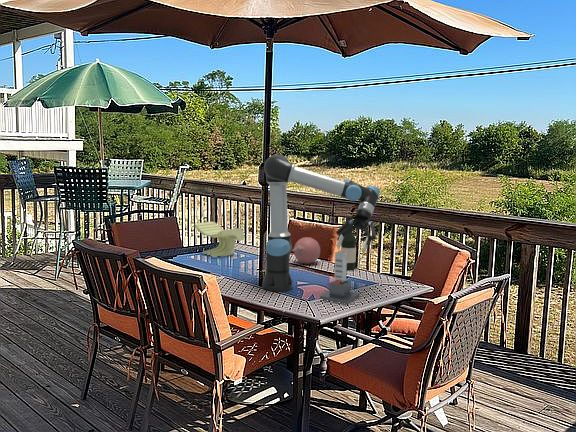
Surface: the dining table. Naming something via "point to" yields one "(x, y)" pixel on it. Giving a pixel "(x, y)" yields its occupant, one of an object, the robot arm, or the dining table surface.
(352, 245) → the wine bottle
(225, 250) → the slatted curved stool
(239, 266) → the dining table surface
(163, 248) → the dining table surface
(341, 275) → the column
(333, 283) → the stand
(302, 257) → the pink rounded ovoid
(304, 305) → the dining table surface
